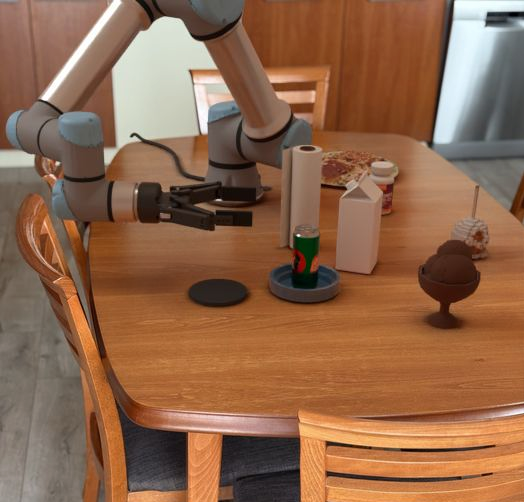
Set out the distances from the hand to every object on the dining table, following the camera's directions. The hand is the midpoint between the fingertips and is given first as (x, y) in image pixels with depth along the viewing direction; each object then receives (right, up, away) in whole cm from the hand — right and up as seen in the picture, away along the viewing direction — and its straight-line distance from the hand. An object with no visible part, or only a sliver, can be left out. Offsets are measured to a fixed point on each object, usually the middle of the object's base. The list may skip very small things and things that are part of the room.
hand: (254, 206), depth 157 cm
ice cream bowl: (+34, -21, -4) cm, 40 cm away
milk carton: (+21, -9, +18) cm, 29 cm away
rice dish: (+24, +21, +73) cm, 80 cm away
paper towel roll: (+10, -4, +27) cm, 29 cm away
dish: (+10, -15, +8) cm, 19 cm away
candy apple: (+45, -6, +25) cm, 52 cm away
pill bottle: (+29, +7, +47) cm, 56 cm away
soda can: (+10, -14, +7) cm, 19 cm away
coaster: (-7, -16, +5) cm, 18 cm away
